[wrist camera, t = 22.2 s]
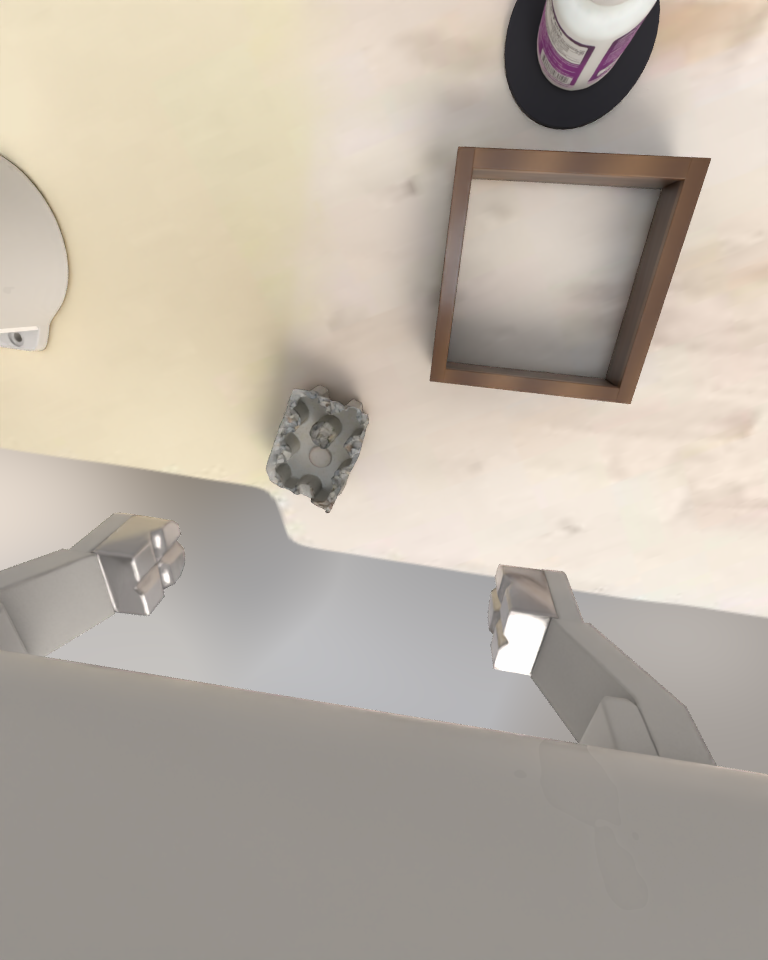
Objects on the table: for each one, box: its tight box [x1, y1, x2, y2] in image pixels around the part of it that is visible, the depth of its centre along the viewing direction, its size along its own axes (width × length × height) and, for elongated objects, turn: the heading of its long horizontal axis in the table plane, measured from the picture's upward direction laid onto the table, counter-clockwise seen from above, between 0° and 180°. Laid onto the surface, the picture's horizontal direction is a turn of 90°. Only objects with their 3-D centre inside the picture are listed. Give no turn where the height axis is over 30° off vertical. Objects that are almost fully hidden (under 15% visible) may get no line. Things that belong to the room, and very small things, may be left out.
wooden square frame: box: [430, 147, 711, 404], centre depth 31 cm, size 15×15×4 cm
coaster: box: [505, 0, 660, 129], centre depth 27 cm, size 9×9×1 cm
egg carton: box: [266, 385, 369, 513], centre depth 40 cm, size 11×8×4 cm
